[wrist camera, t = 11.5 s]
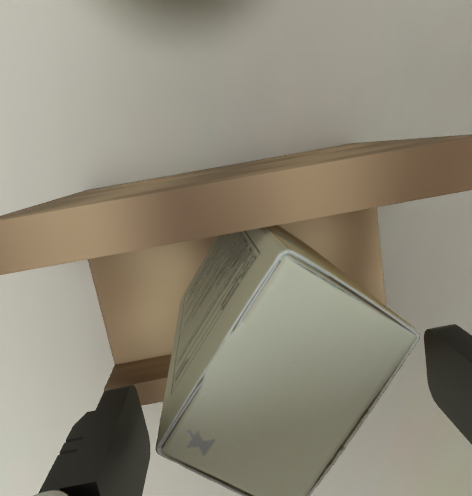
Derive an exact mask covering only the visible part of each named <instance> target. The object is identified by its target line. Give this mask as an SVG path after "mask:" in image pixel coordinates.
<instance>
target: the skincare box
mask: <svg viewBox="0 0 472 496" xmlns="http://www.w3.org/2000/svg"><path fill="white" fill-rule="evenodd" d="M419 338H420V333H419V332H418V331H417V330H416V329H415V328H414V327H412V326H411V325H410V324H408V323H407V322H406V321H404V320H403V319H402V318H400V317H399V316H398V315H397V314H395V313H394V312H393V311H391V310H390V309H389V308H387V307H386V306H385V305H384V304H382V303H381V302H380V301H379V300H377V299H376V298H375V297H374V296H372V295H371V294H370V293H369V292H367V291H366V290H365V289H364V288H362V287H361V286H360V285H359V284H357V283H356V282H355V281H353V280H352V279H351V278H350V277H348V276H347V275H346V274H344V273H343V272H342V271H341V270H339V269H338V268H337V267H335V266H334V265H333V264H332V263H330V262H329V261H328V260H327V259H325V258H324V257H323V256H321V255H320V254H319V253H318V252H316V251H315V250H314V249H313V248H311V247H310V246H309V245H307V244H306V243H305V242H303V241H302V240H300V239H299V238H297V237H296V236H294V235H293V234H291V233H290V232H288V231H287V230H285V229H283V228H282V227H280V226H279V225H274V226H269V227H263V228H258V229H252V230H247V231H241V232H236V233H230V234H224V235H219V236H218V237H217V239H216V240H215V242H214V244H213V245H212V247H211V249H210V250H209V252H208V254H207V255H206V257H205V259H204V260H203V262H202V263H201V265H200V267H199V269H198V270H197V272H196V274H195V275H194V277H193V279H192V281H191V282H190V284H189V286H188V288H187V289H186V291H185V293H184V295H183V297H182V299H181V301H180V307H179V313H178V319H177V325H176V331H175V337H174V343H173V349H172V355H171V361H170V366H169V372H168V378H167V384H166V390H165V395H164V401H163V408H162V414H161V419H160V425H159V432H158V439H157V443H156V452H157V453H158V454H159V455H161V456H163V457H165V458H167V459H169V460H171V461H174V462H176V463H178V464H180V465H182V466H183V467H185V468H187V469H189V470H191V471H193V472H195V473H197V474H199V475H201V476H203V477H205V478H207V479H209V480H211V481H213V482H216V483H218V484H220V485H222V486H224V487H226V488H228V489H230V490H231V491H234V492H236V493H238V494H240V495H242V496H310V495H311V493H312V492H313V491H314V489H315V488H316V487H317V486H318V485H319V483H320V482H321V481H322V479H323V478H324V476H325V475H326V474H327V472H328V471H329V470H330V468H331V467H332V466H333V465H334V463H335V462H336V460H337V459H338V457H339V456H340V455H341V453H342V452H343V450H344V449H345V448H346V446H347V444H348V443H349V442H350V440H351V439H352V438H353V436H354V435H355V433H356V432H357V430H358V429H359V428H360V426H361V425H362V423H363V422H364V420H365V419H366V417H367V416H368V414H369V413H370V412H371V410H372V409H373V407H374V406H375V404H376V403H377V402H378V400H379V398H380V397H381V395H382V394H383V393H384V391H385V390H386V388H387V387H388V385H389V384H390V382H391V381H392V379H393V377H394V376H395V374H396V373H397V371H398V370H399V369H400V367H401V366H402V364H403V362H404V361H405V359H406V358H407V356H408V355H409V353H410V352H411V350H412V349H413V347H414V346H415V344H416V343H417V341H418V340H419Z"/></svg>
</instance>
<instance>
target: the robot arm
mask: <svg viewBox="0 0 472 496" xmlns="http://www.w3.org/2000/svg"><path fill="white" fill-rule="evenodd" d="M424 344H425V355H426V367H427V378H428V385H429V389H430V392H431V395H432V397H433V399H434V401H435V402H436V404H437V405H438V407H439V408H440V409H441V410H442V411H443V412H444V413H445V414H446V416H447V417H448V418H449V419H450V420H451V421H452V422H453V424H454V425H455V426H456V427H457V428H458V429H459V430H460V432H461V433H462V434H463V435H464V436H465V437H466V438H467V440H468V441H469V442H470V443H471V444H472V336H471V335H470V334H469V333H467V332H466V331H464V330H463V329H462V328H460V327H459V326H457V325H455V324H453V325H447V326H442V327H437V328H432V329H427V330H426V331H425V333H424ZM149 460H150V441H149V435H148V430H147V427H146V423H145V419H144V415H143V411H142V408H141V404H140V400H139V396H138V392H137V389H136V387H135V386H134V385H128V386H123V387H117V388H112V389H107V390H105V391H104V393H103V395H102V397H101V400H100V402H99V404H98V406H97V408H96V410H95V411H91V412H87V413H86V414H85V415H84V416H83V417H82V418H81V419H80V420H79V421H78V422H77V423H76V424H75V425H74V426H73V427H72V429H71V431H70V433H69V435H68V437H67V439H66V443H64V445H63V447H62V449H61V451H60V455H58V456H57V458H56V460H55V462H54V464H53V466H52V468H51V470H50V472H49V474H48V476H47V478H46V480H45V482H44V484H43V485H42V487H41V489H40V491H39V493H38V494H36V495H34V496H142V493H143V488H144V483H145V479H146V474H147V469H148V464H149Z"/></svg>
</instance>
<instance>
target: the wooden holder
mask: <svg viewBox="0 0 472 496" xmlns="http://www.w3.org/2000/svg"><path fill="white" fill-rule="evenodd" d="M468 190H472V135H459V136H445V137H432V138H418V139H405V140H391V141H378V142H365V143H352V144H347V145H341V146H335V147H330V148H324V149H318V150H313V151H307V152H301V153H296V154H290V155H284V156H279V157H273V158H267V159H262V160H256V161H250V162H245V163H239V164H233V165H228V166H222V167H216V168H211V169H205V170H199V171H194V172H188V173H182V174H177V175H171V176H165V177H160V178H154V179H148V180H143V181H137V182H131V183H126V184H120V185H114V186H109V187H103V188H97V189H92V190H86V191H82V192H79V193H76V194H72V195H69V196H66V197H62V198H59V199H56V200H52V201H49V202H46V203H42V204H39V205H35V206H32V207H29V208H25V209H22V210H19V211H15V212H12V213H9V214H5V215H2V216H0V275H3V274H8V273H14V272H20V271H25V270H31V269H36V268H42V267H47V266H53V265H58V264H64V263H69V262H75V261H80V260H86V259H88V262H89V266H90V269H91V273H92V277H93V281H94V285H95V289H96V293H97V297H98V301H99V305H100V308H101V312H102V316H103V320H104V324H105V328H106V332H107V336H108V340H109V344H110V347H111V351H112V355H113V359H114V363H115V366H114V368H113V370H112V373H111V375H110V377H109V379H108V382H107V384H106V386H105V388H104V391H105V390H107V389H112V388H117V387H123V386H128V385H134V386H135V387H136V389H137V392H138V396H139V400H140V404H141V405H147V404H152V403H157V402H162V401H164V395H165V390H166V384H167V378H168V372H169V366H170V361H171V355H172V349H173V343H174V337H175V331H176V325H177V319H178V313H179V307H180V301H181V299H182V297H183V295H184V293H185V291H186V289H187V288H188V286H189V284H190V282H191V281H192V279H193V277H194V275H195V274H196V272H197V270H198V269H199V267H200V265H201V263H202V262H203V260H204V259H205V257H206V255H207V254H208V252H209V250H210V249H211V247H212V245H213V244H214V242H215V240H216V239H217V237H218V236H219V235H224V234H230V233H236V232H241V231H247V230H252V229H258V228H263V227H269V226H274V225H279V226H280V227H282V228H283V229H285V230H287V231H288V232H290V233H291V234H293V235H294V236H296V237H297V238H299V239H300V240H302V241H303V242H305V243H306V244H307V245H309V246H310V247H311V248H313V249H314V250H315V251H316V252H318V253H319V254H320V255H321V256H323V257H324V258H325V259H327V260H328V261H329V262H330V263H332V264H333V265H334V266H335V267H337V268H338V269H339V270H341V271H342V272H343V273H344V274H346V275H347V276H348V277H350V278H351V279H352V280H353V281H355V282H356V283H357V284H359V285H360V286H361V287H362V288H364V289H365V290H366V291H367V292H369V293H370V294H371V295H372V296H374V297H375V298H376V299H377V300H379V301H380V302H381V303H382V304H384V305H385V306H386V301H385V291H384V280H383V270H382V260H381V250H380V240H379V229H378V219H377V209H376V207H379V206H385V205H391V204H396V203H402V202H407V201H413V200H418V199H424V198H429V197H435V196H440V195H446V194H451V193H457V192H463V191H468Z"/></svg>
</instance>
